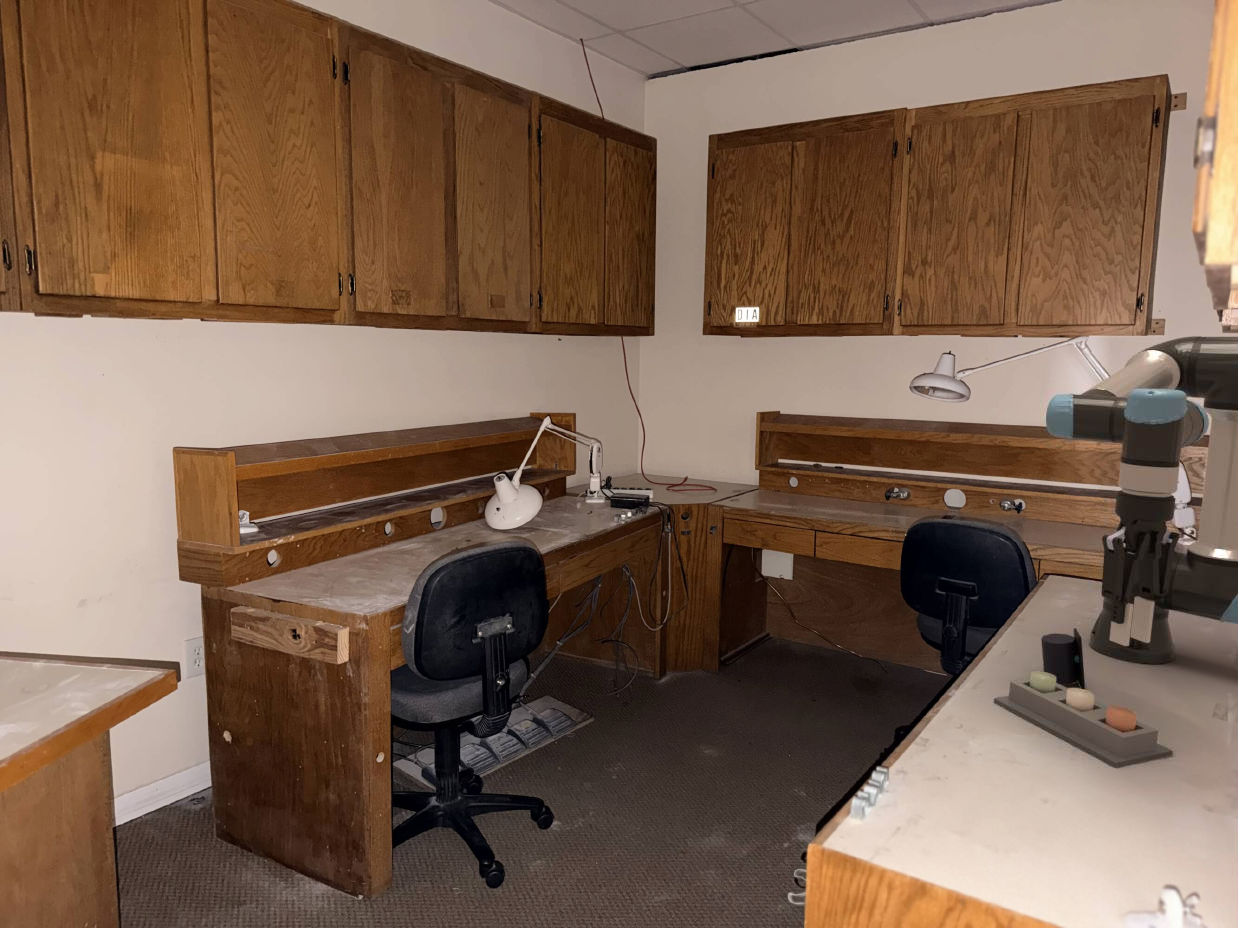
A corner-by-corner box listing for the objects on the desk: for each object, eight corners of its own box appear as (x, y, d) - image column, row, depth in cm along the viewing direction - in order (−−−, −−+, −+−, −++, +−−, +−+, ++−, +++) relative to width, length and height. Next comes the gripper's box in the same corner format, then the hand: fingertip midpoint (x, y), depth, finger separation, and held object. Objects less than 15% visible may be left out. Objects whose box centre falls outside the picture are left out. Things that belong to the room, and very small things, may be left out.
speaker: (1091, 681, 157) (1090, 628, 156) (1085, 692, 152) (1083, 638, 151) (1047, 674, 162) (1045, 623, 160) (1039, 685, 157) (1038, 632, 156)
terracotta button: (1098, 729, 132) (1101, 708, 132) (1117, 725, 134) (1119, 704, 133) (1121, 740, 129) (1124, 719, 128) (1140, 736, 130) (1142, 715, 129)
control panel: (993, 702, 148) (995, 680, 147) (1045, 693, 152) (1047, 672, 151) (1115, 767, 125) (1118, 742, 125) (1172, 755, 129) (1175, 731, 129)
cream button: (1059, 709, 139) (1061, 689, 139) (1077, 706, 141) (1079, 686, 140) (1079, 719, 136) (1082, 699, 135) (1098, 716, 137) (1100, 696, 136)
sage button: (1023, 691, 146) (1025, 672, 146) (1041, 688, 148) (1042, 669, 147) (1042, 700, 142) (1044, 681, 142) (1060, 697, 144) (1061, 678, 143)
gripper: (1162, 485, 132) (1146, 627, 135) (1082, 490, 126) (1068, 638, 130) (1210, 493, 125) (1191, 643, 128) (1128, 499, 119) (1111, 656, 123)
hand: (1129, 640), depth 129 cm, fingers open, 4 cm apart
